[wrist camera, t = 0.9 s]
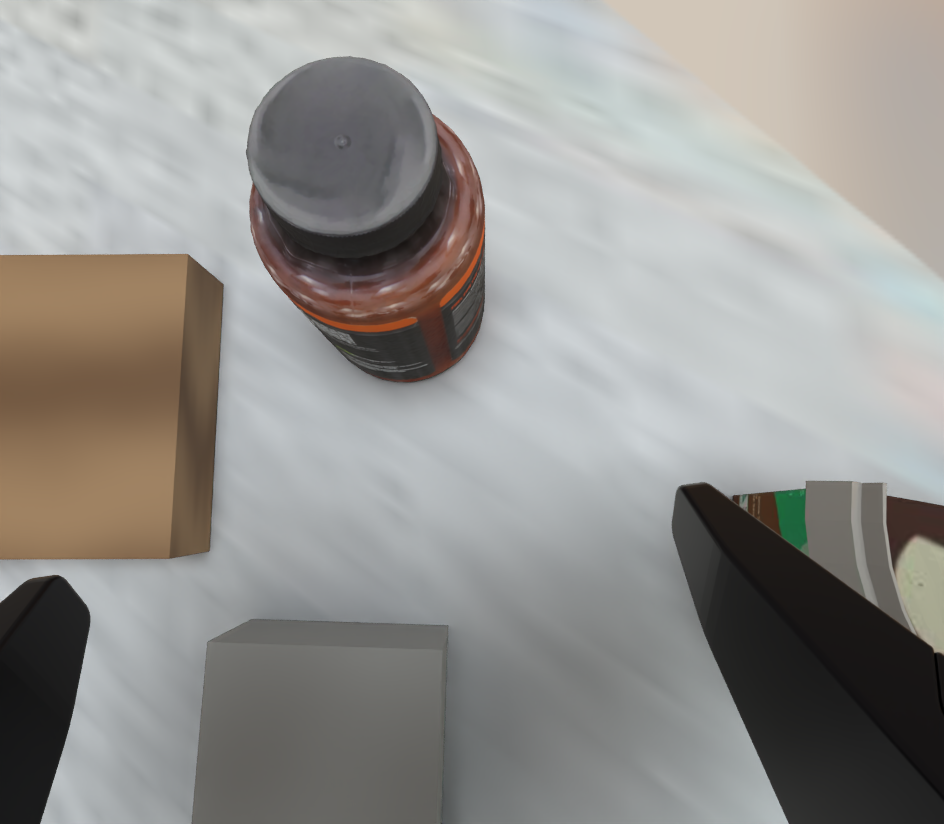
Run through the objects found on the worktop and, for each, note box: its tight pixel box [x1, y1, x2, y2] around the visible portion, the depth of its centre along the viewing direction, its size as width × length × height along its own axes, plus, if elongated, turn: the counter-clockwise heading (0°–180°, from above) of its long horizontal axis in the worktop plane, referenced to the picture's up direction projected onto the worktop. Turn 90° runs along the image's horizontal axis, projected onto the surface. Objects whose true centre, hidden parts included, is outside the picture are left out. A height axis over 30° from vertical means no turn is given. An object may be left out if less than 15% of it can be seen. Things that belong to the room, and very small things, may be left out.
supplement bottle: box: [246, 56, 485, 382], centre depth 18 cm, size 6×6×11 cm
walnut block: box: [0, 254, 223, 559], centre depth 22 cm, size 10×10×3 cm
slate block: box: [192, 619, 448, 824], centre depth 20 cm, size 7×7×4 cm
